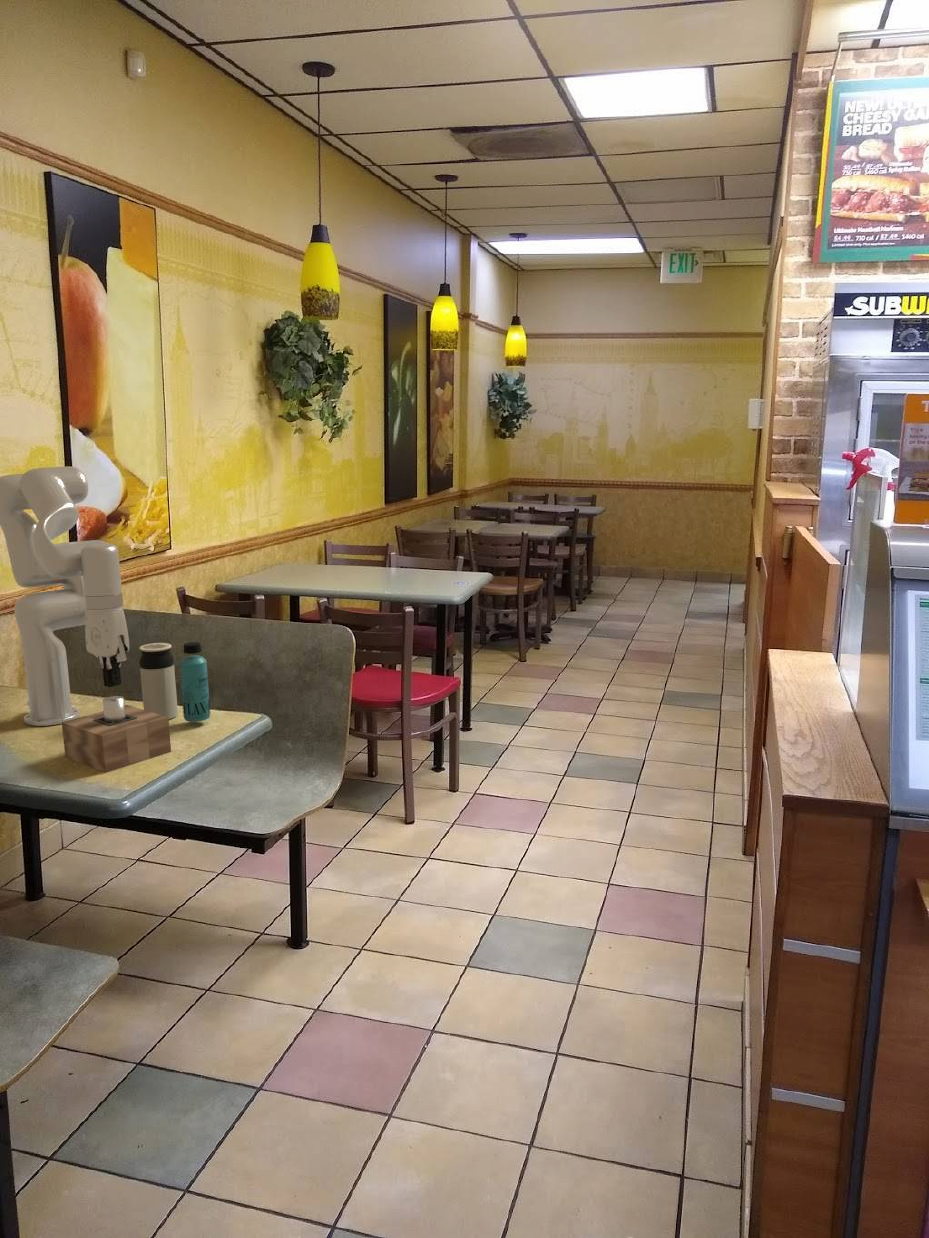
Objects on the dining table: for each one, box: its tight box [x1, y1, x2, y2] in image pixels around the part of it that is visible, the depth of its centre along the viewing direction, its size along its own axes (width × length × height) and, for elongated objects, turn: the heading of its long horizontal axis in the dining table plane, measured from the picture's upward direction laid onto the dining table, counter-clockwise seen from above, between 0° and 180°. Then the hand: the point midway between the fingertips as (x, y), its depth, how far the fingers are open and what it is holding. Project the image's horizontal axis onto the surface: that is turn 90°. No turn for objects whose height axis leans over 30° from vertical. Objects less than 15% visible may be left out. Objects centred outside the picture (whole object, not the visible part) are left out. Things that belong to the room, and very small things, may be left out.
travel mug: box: [139, 642, 179, 720], centre depth 241 cm, size 8×8×18 cm
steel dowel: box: [102, 695, 126, 724], centre depth 215 cm, size 4×4×8 cm
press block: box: [61, 704, 172, 773], centre depth 216 cm, size 16×16×8 cm
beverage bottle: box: [179, 641, 211, 723], centre depth 235 cm, size 6×7×20 cm
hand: (112, 685), depth 213 cm, fingers closed
